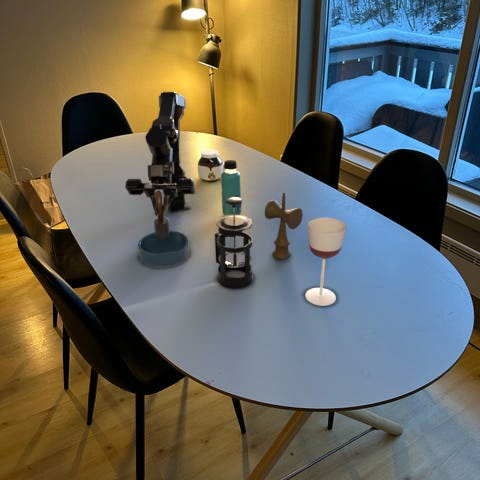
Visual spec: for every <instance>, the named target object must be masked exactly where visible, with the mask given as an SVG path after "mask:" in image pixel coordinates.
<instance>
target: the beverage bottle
mask: <svg viewBox="0 0 480 480" xmlns="http://www.w3.org/2000/svg"><path fill="white" fill-rule="evenodd" d="M224 168H225V169H228V170H225V171H224V172H223V173H222V174H221V179H220V180H221V209H222V215H223V216H227V215H234V211H233V207H232V205H230V204H227V203H226V202H225V201H226V200H227V199H228V198H233V197H236V198H240V199H242V193H241V192H242V191H241V190H242V189H241V186H242V185H241V173H240V171H238V170H237V168H238V165H237V161H236V160H235V159H226V160H225V161H224ZM241 213H242V203H241V204H238V205H236V208H235V215H241Z"/></svg>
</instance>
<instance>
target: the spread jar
mask: <svg viewBox="0 0 480 480" xmlns="http://www.w3.org/2000/svg"><path fill="white" fill-rule="evenodd" d="M200 154H201V156H200V158H199V159H198V160H197V161H198V162H197V175H198V178H199V179H200V180H201V181H203V182H204V183H217V182H218V181H220V180H222V179H221V174H222V173H223V172H224V171H225V170H228V169H225V168H224V162H225V161H224V160H222V158H221V157H220V156H219V151H218V150H215V149H205V150H202V151H201V152H200Z"/></svg>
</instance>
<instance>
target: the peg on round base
mask: <svg viewBox="0 0 480 480" xmlns="http://www.w3.org/2000/svg"><path fill="white" fill-rule="evenodd" d="M155 192H156V203H157V212H158V214H157V218H155V219H154V220H153V225H154V232H155V236H156V238H157V239H159V240H164V239H167V238H169V237H170V232H169V231H170V222H169V219H168V218H166V217H165V215H164V216H163V215H162V208H163V192H162V190H156V191H155Z"/></svg>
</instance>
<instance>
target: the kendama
mask: <svg viewBox="0 0 480 480" xmlns="http://www.w3.org/2000/svg"><path fill="white" fill-rule="evenodd" d="M303 216H304V215H303V210H302V208H300V207H295V208H293V209H286V193H285V192H282V197H281V205H280V203H279V201H277V200H275V199H271V200H270V201H268V202H267V204H265V208H264V217H265V219H267V220H273V219H280V221H279V227H278V233H277V237H276V238H275V239H274V240H273V244H274V246H275V248H274V250H273V251H272V253H271V254H272V256H273V258H274V259H276V260H279V261H280V260H281V261H283V260H288V259H290V257H291V255H292V254H291V252H290V250H289V246H290V245H291V241H290V240H289V239H288V235H287V227H288V229H290V230H296V229H297V228H298V227H300V225H301V223H302V221H303Z"/></svg>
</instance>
